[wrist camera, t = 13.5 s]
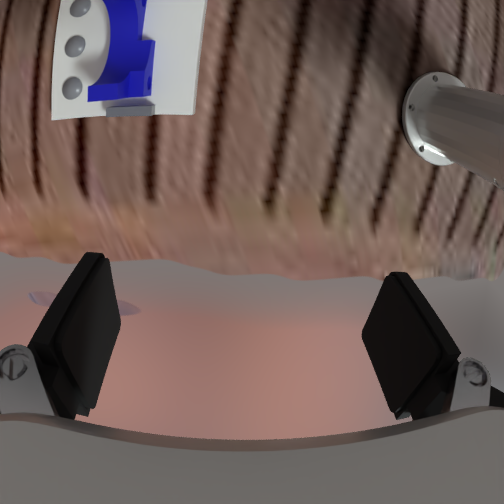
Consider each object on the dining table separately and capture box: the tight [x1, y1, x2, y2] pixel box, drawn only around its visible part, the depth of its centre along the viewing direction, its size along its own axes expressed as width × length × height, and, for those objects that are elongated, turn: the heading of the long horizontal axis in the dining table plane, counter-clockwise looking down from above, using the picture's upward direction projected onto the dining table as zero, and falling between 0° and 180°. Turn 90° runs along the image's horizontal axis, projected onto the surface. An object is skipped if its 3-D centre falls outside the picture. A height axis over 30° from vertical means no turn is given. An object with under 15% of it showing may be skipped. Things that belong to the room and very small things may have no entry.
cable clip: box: [87, 0, 156, 102], centre depth 21 cm, size 12×4×6 cm, turn 174°
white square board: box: [52, 0, 208, 120], centre depth 24 cm, size 17×17×4 cm
